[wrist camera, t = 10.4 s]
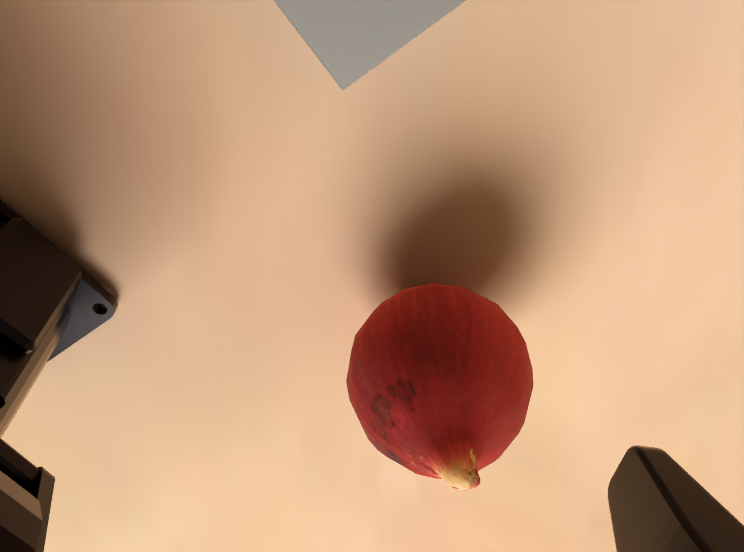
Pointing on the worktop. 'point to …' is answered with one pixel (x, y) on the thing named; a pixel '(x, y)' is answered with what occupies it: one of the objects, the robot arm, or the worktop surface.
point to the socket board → (360, 30)
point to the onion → (440, 381)
